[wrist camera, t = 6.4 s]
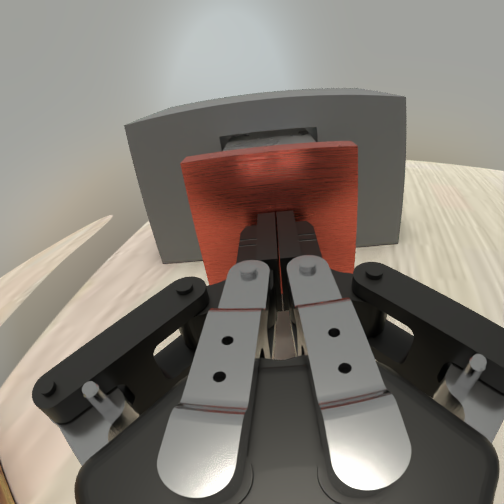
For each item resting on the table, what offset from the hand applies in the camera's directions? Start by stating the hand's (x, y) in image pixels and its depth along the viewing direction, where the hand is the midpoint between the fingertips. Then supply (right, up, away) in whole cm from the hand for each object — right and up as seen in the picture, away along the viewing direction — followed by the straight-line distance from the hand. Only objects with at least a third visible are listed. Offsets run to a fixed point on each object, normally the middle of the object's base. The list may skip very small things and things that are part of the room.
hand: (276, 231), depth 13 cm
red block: (+1, 0, +7) cm, 7 cm away
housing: (+2, +2, +16) cm, 17 cm away
